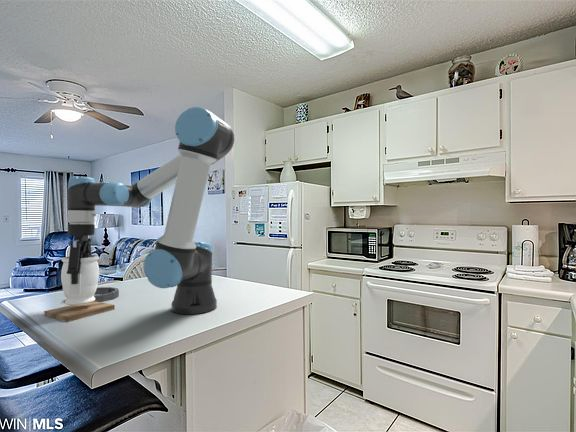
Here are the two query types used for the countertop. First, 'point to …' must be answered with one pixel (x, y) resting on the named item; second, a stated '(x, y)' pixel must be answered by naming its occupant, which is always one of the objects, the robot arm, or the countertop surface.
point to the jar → (88, 280)
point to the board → (78, 311)
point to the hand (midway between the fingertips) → (80, 290)
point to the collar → (106, 294)
